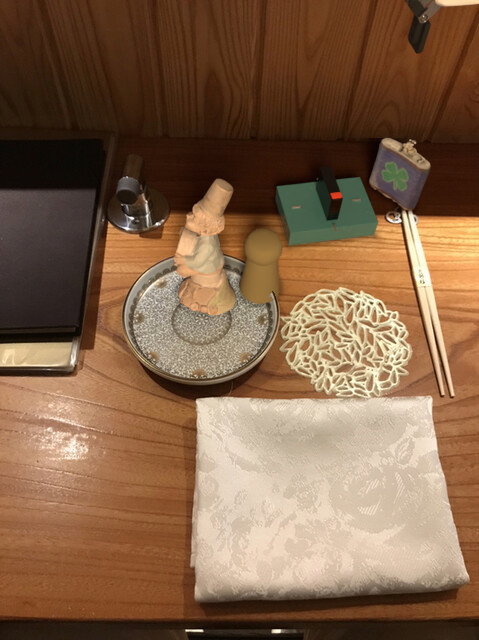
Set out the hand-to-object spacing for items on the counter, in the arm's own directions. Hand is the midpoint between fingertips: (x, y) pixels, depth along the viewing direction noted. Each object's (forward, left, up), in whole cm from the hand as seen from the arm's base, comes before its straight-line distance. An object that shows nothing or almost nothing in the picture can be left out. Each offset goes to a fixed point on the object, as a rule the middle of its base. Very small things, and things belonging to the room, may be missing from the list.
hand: (450, 44), depth 73 cm
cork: (+27, +16, -26) cm, 41 cm away
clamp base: (+14, +4, -26) cm, 30 cm away
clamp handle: (+14, +4, -23) cm, 27 cm away
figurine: (+35, +16, -26) cm, 46 cm away
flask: (+1, +1, -26) cm, 26 cm away
